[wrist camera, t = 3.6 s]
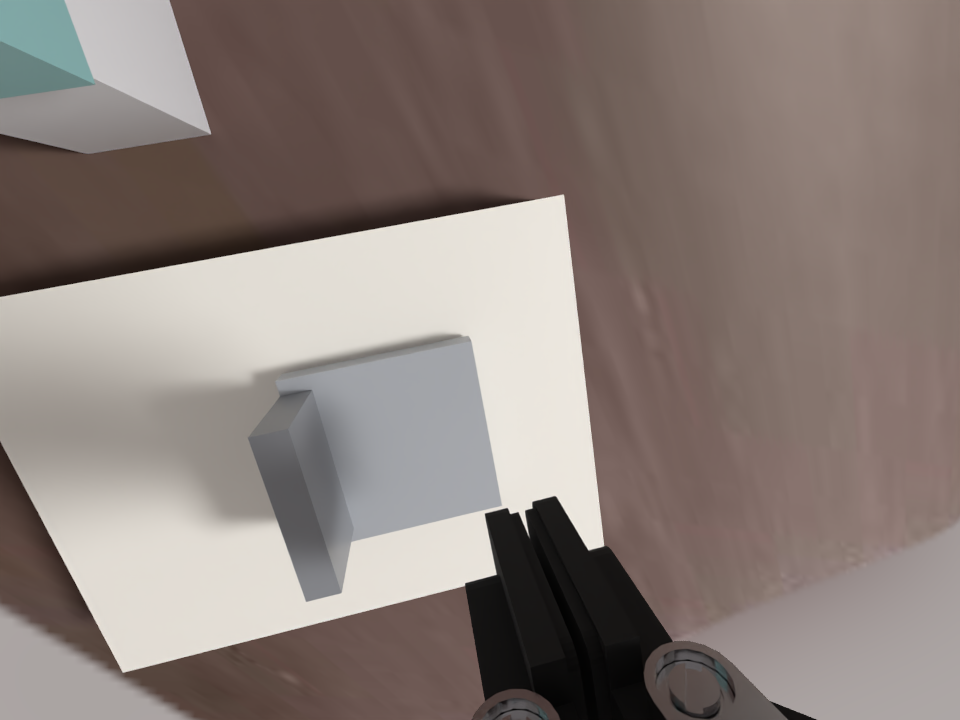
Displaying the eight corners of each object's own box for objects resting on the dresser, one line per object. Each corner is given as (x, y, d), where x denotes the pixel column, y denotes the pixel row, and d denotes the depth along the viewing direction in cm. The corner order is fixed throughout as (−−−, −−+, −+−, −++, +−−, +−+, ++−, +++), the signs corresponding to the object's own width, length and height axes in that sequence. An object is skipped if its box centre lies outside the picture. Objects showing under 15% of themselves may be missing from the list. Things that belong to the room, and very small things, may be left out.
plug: (176, -20, 15) (-209, -431, 5) (227, 145, 16) (-13, 34, 7) (13, 1, 14) (-694, -406, 5) (80, 169, 16) (-382, 83, 6)
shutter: (468, 335, 16) (486, 367, 12) (497, 493, 17) (521, 562, 14) (282, 373, 15) (241, 419, 11) (332, 533, 17) (311, 616, 13)
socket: (539, 200, 18) (564, 194, 15) (579, 508, 22) (604, 550, 19) (15, 295, 16) (-70, 309, 13) (163, 609, 20) (122, 672, 17)
